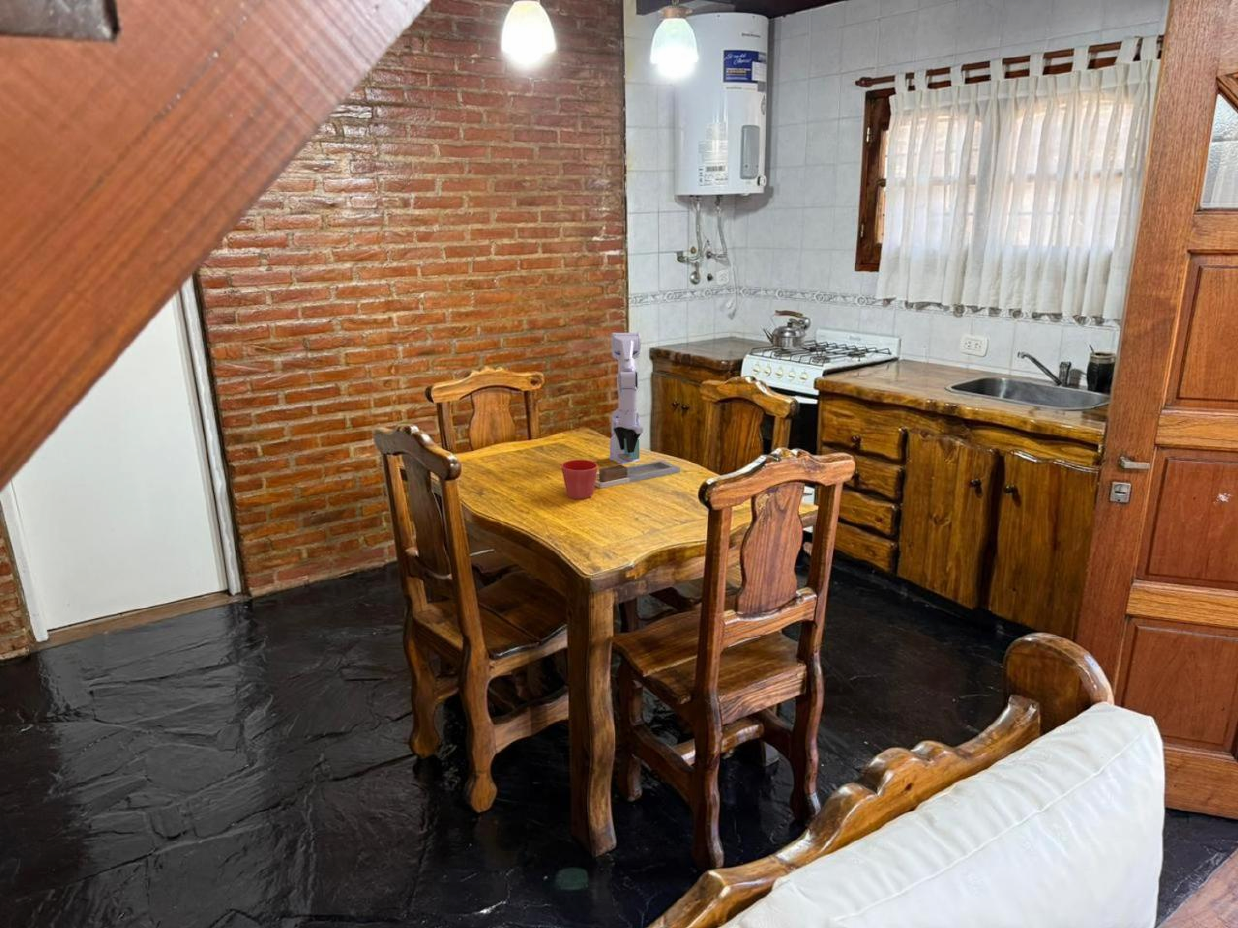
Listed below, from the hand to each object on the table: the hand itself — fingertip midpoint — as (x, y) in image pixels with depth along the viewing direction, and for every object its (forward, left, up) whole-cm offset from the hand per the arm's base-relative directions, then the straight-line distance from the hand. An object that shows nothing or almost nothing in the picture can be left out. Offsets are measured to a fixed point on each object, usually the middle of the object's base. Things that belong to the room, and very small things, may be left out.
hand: (627, 450), depth 267 cm
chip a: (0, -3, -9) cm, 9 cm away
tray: (0, -8, -9) cm, 12 cm away
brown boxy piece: (0, -7, -9) cm, 12 cm away
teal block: (0, +2, -3) cm, 3 cm away
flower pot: (+6, -21, -10) cm, 24 cm away
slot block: (0, +8, -9) cm, 12 cm away
